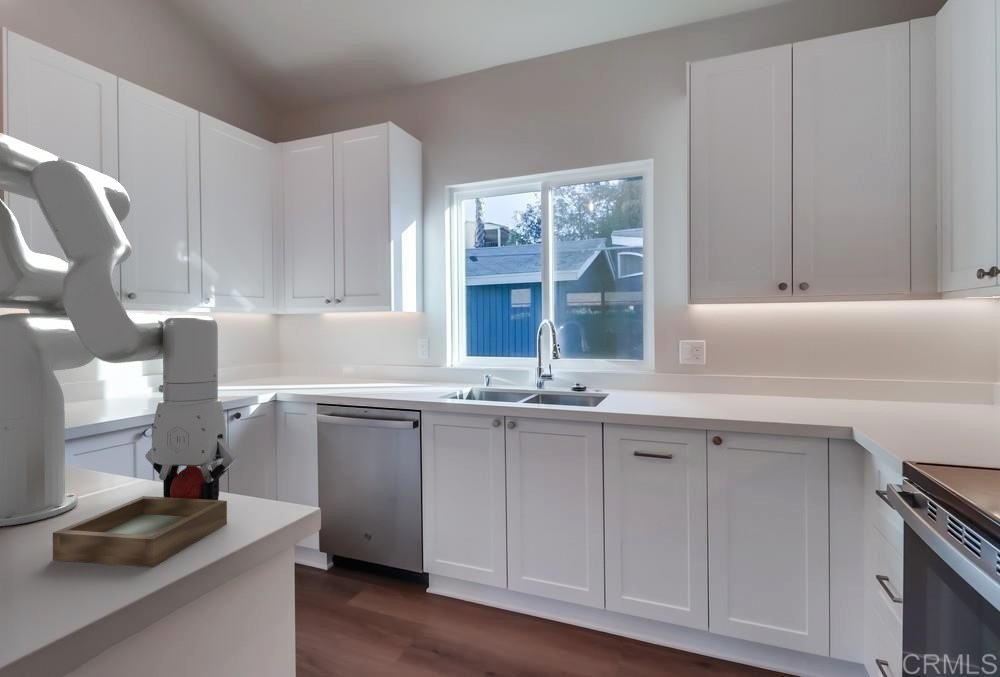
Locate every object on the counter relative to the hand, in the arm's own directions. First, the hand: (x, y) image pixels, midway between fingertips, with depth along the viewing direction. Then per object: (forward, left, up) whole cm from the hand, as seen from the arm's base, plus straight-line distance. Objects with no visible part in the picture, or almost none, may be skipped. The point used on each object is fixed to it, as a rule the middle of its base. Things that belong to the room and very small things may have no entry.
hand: (191, 502), depth 81 cm
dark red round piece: (0, 0, -2) cm, 2 cm away
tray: (+2, -11, -1) cm, 11 cm away
